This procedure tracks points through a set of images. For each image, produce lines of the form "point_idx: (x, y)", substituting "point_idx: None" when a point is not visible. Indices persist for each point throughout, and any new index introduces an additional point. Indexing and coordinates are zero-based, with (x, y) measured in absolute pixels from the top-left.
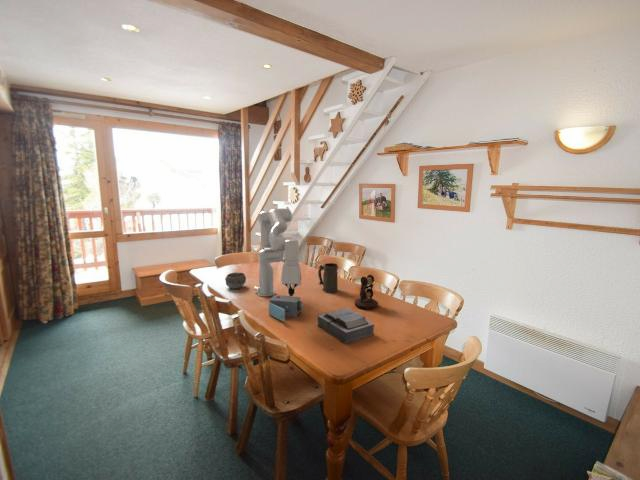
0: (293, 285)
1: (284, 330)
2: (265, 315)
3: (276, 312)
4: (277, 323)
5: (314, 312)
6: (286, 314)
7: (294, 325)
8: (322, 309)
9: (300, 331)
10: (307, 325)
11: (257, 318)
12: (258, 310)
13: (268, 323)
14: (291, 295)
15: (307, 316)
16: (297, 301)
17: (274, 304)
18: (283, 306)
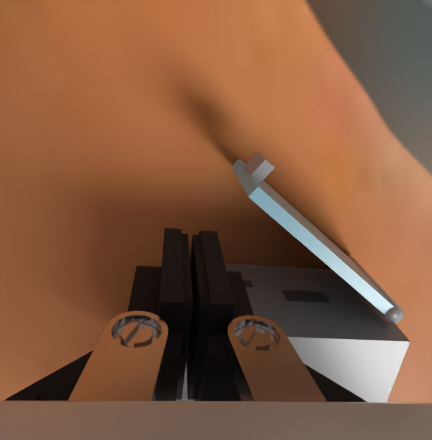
0: (108, 391)
1: (210, 15)
2: (376, 254)
3: (314, 230)
4: (282, 139)
5: (52, 345)
6: (236, 269)
7: (148, 120)
8: (10, 394)
9: (74, 8)
10: (45, 132)
11: (427, 201)
12: (423, 315)
13: (347, 131)
14: (175, 231)
15: (85, 281)
16: None
17: (350, 315)
18: (272, 305)
